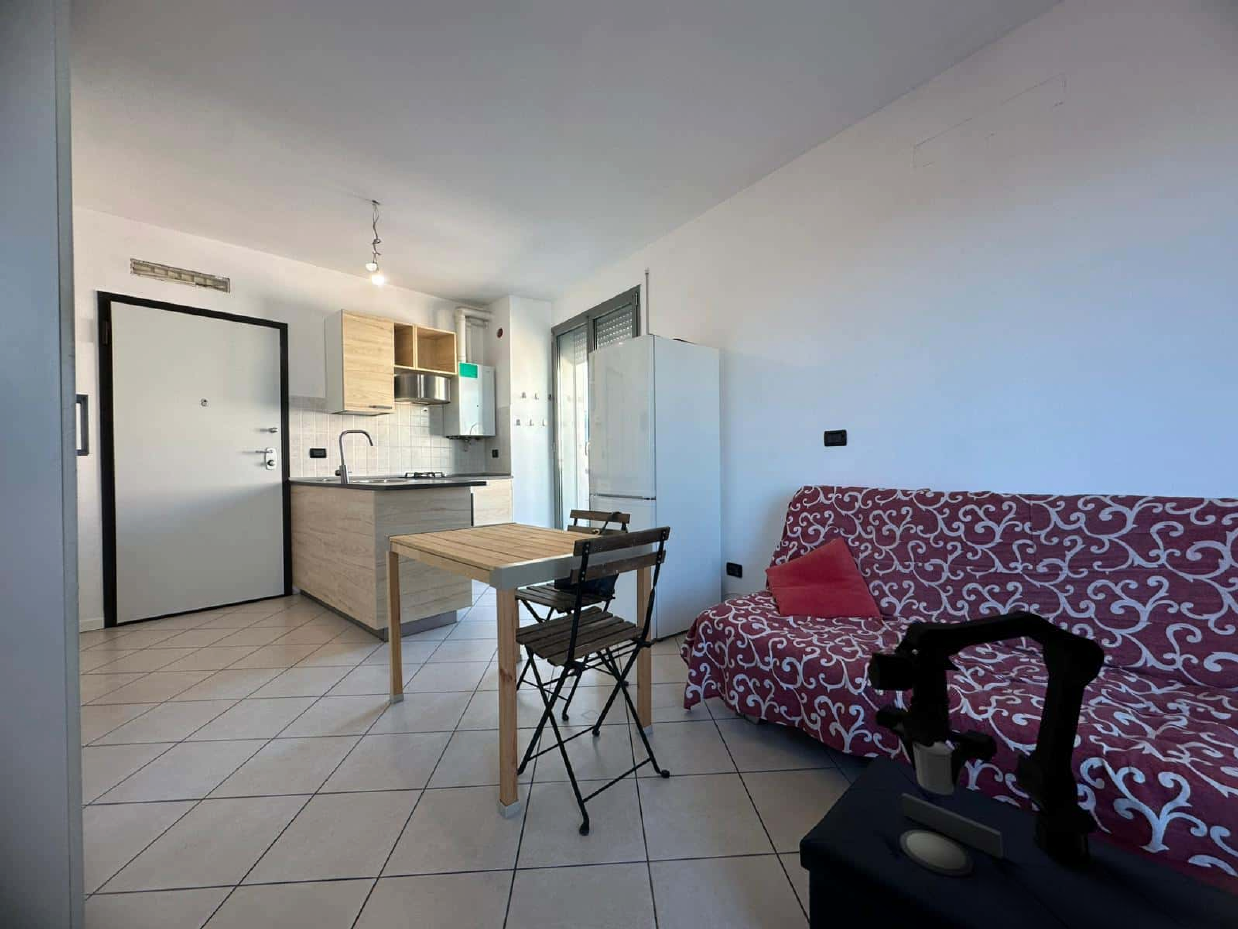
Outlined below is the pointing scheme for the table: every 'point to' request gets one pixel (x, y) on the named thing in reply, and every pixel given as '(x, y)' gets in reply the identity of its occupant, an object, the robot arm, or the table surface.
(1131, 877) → the table surface
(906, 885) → the table surface
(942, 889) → the table surface
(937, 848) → the grey round disc
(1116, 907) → the table surface
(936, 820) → the low wall
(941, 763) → the shot glass
